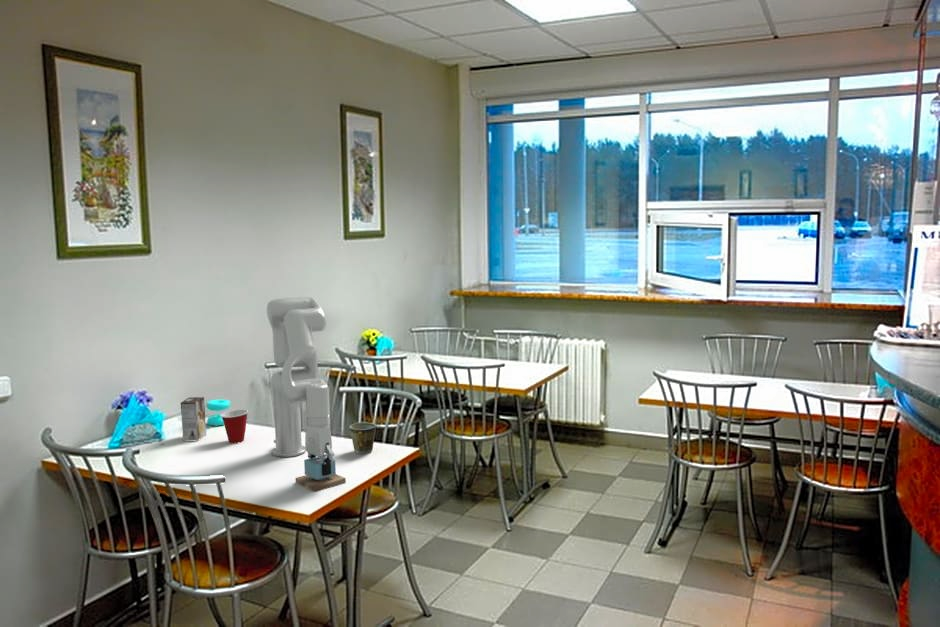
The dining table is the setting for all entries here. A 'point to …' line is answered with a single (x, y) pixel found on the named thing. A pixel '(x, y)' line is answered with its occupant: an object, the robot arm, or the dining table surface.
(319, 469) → the blue hollow block
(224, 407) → the donuts
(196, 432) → the coffee box
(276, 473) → the dining table surface
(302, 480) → the post base
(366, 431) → the ceramic cup
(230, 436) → the plastic cup
